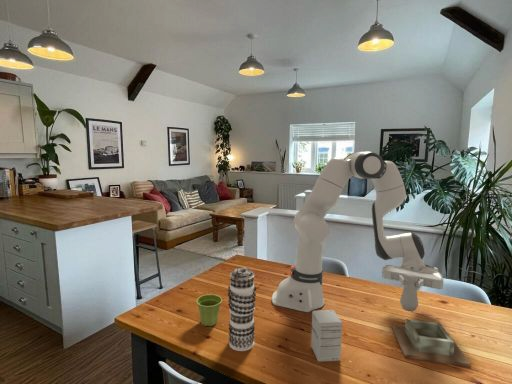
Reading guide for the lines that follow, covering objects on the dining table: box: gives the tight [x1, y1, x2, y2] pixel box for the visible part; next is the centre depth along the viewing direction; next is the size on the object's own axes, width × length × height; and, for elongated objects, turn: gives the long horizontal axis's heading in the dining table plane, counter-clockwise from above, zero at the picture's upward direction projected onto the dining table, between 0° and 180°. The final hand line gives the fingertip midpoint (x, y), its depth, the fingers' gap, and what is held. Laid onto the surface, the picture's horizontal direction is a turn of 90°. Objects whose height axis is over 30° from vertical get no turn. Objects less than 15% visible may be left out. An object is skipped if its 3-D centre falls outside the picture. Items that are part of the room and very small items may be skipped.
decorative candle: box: [227, 267, 257, 352], centre depth 94 cm, size 9×9×25 cm
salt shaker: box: [399, 273, 419, 313], centre depth 104 cm, size 6×6×13 cm
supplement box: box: [310, 309, 343, 362], centre depth 90 cm, size 7×7×13 cm
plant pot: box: [195, 293, 223, 327], centre depth 107 cm, size 9×9×9 cm
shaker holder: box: [391, 318, 472, 368], centre depth 95 cm, size 18×16×6 cm
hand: (410, 284), depth 103 cm, fingers closed on salt shaker, 3 cm apart
